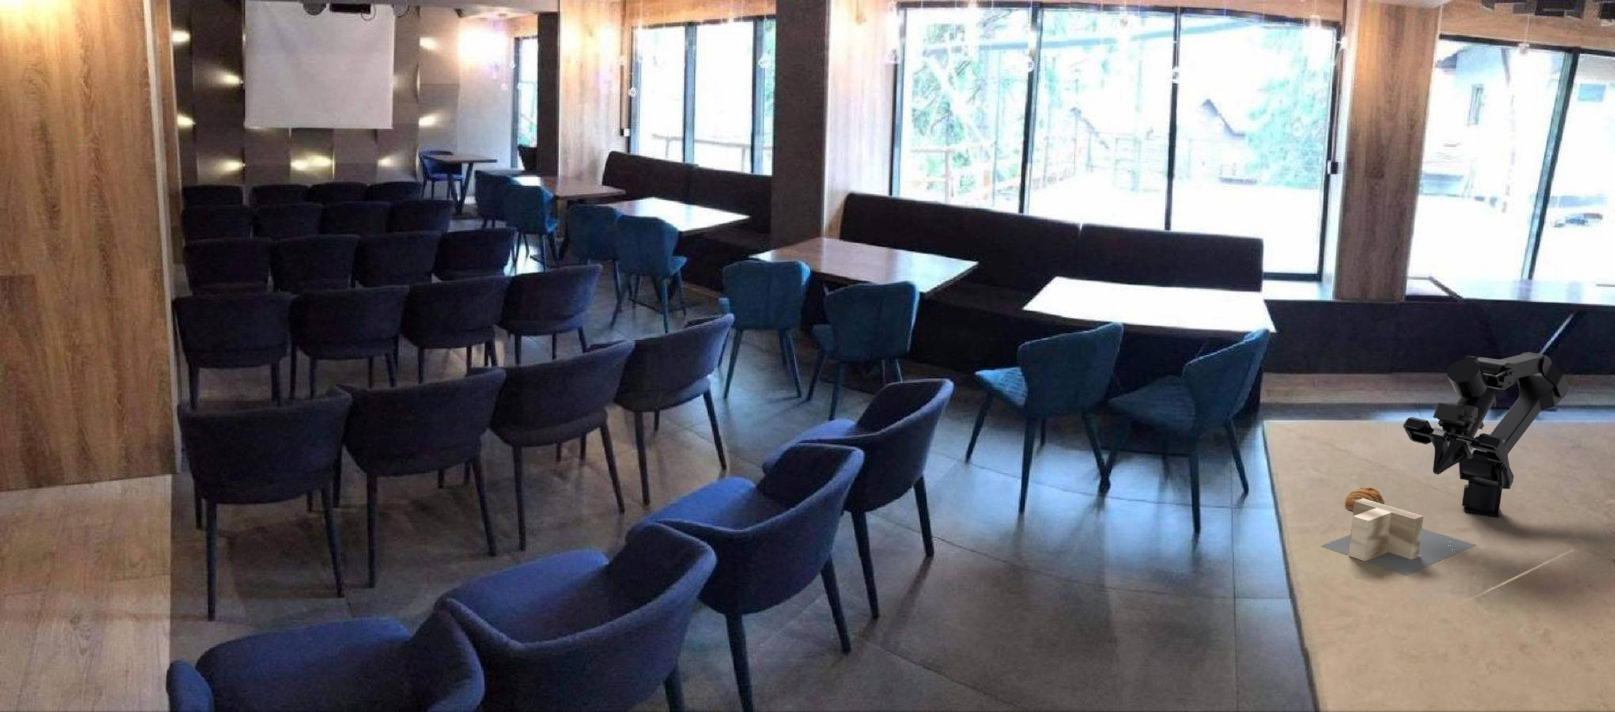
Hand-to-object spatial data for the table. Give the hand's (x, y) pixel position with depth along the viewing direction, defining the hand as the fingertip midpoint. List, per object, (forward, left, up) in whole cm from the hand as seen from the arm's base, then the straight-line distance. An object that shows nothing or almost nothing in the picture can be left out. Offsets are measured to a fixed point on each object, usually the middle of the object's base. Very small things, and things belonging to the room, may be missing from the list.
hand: (1435, 473), depth 232 cm
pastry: (+13, -9, -13) cm, 20 cm away
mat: (+5, +12, -12) cm, 18 cm away
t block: (+9, +19, -12) cm, 24 cm away
